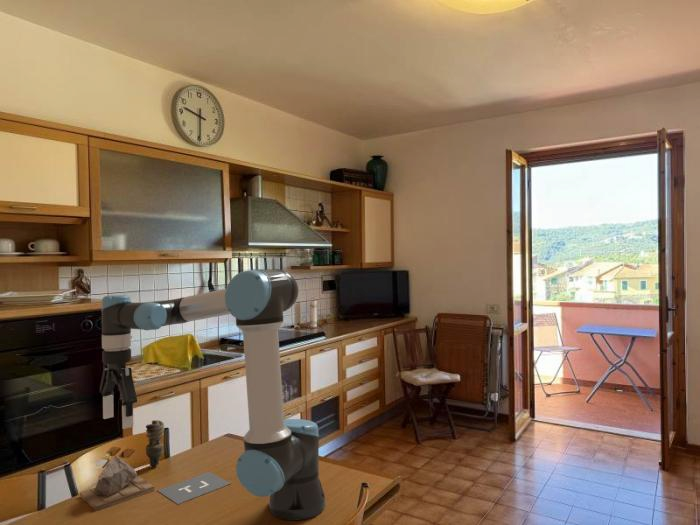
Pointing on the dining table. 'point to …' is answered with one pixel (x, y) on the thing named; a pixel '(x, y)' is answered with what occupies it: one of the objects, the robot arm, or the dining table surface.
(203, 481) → the card
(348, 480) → the dining table surface
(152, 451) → the dark grey lumpy column
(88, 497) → the brown flat segmented slab
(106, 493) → the stone
